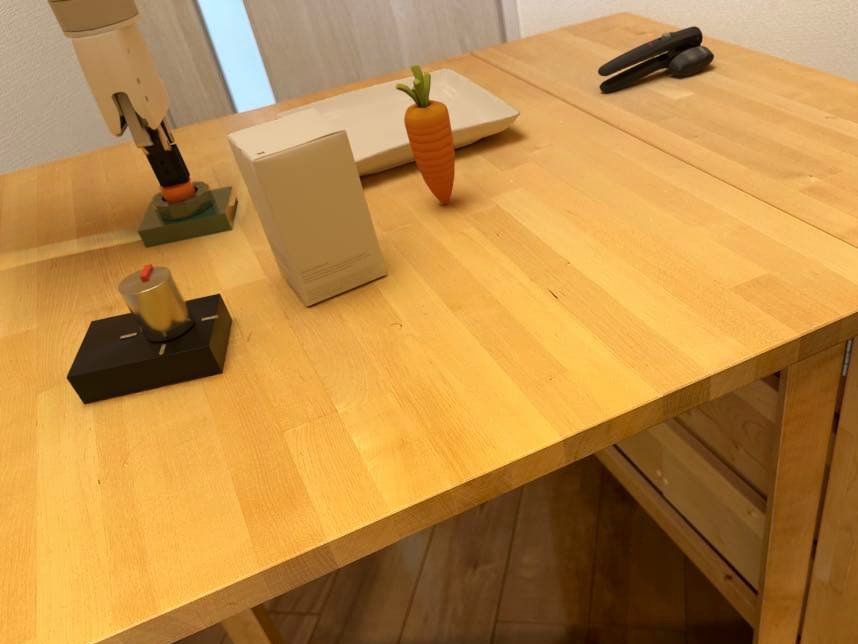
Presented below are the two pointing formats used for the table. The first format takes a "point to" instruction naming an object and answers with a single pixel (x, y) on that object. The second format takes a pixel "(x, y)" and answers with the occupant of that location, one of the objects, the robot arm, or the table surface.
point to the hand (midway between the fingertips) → (176, 181)
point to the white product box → (310, 203)
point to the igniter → (188, 216)
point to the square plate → (385, 109)
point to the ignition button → (178, 191)
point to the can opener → (658, 58)
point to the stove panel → (149, 353)
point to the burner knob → (156, 303)
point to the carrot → (430, 136)
